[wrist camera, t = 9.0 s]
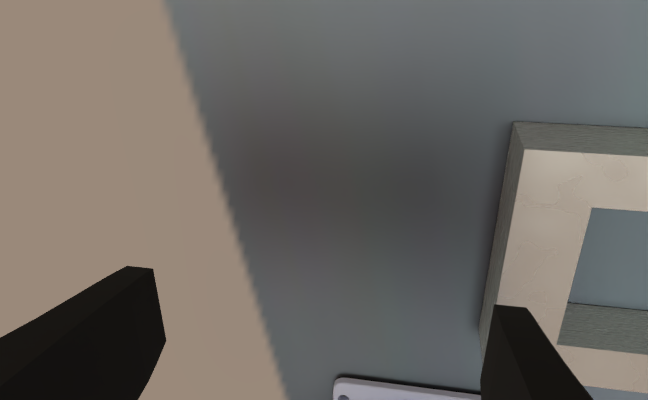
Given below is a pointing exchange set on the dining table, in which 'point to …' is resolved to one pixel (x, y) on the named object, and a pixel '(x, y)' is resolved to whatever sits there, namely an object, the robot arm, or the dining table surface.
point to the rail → (568, 243)
